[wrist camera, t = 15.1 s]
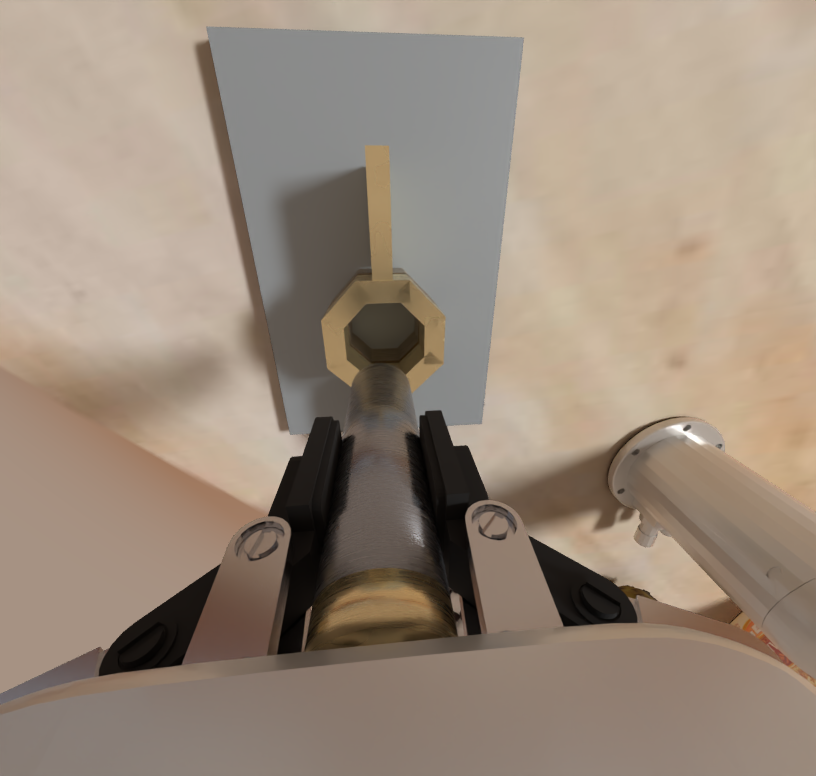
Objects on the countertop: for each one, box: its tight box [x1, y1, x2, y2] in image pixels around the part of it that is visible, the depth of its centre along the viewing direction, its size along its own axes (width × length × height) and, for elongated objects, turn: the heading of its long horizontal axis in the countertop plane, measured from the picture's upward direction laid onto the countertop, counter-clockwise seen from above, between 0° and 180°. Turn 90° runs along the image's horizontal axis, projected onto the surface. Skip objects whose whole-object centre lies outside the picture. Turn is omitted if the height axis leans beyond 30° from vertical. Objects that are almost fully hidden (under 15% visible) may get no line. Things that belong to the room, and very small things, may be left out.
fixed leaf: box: [328, 268, 437, 364], centre depth 25 cm, size 14×8×6 cm, turn 1°
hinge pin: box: [304, 363, 458, 652], centre depth 11 cm, size 3×3×11 cm
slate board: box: [206, 27, 524, 435], centre depth 25 cm, size 27×18×1 cm, turn 1°
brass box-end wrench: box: [321, 145, 446, 393], centre depth 22 cm, size 14×8×6 cm, turn 1°
